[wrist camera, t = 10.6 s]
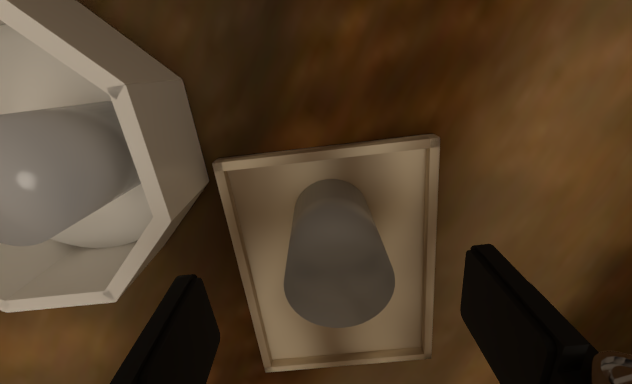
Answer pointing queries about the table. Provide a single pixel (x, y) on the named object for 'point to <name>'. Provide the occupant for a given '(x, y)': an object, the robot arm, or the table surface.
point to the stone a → (59, 169)
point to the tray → (393, 226)
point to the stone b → (336, 258)
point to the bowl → (140, 134)
